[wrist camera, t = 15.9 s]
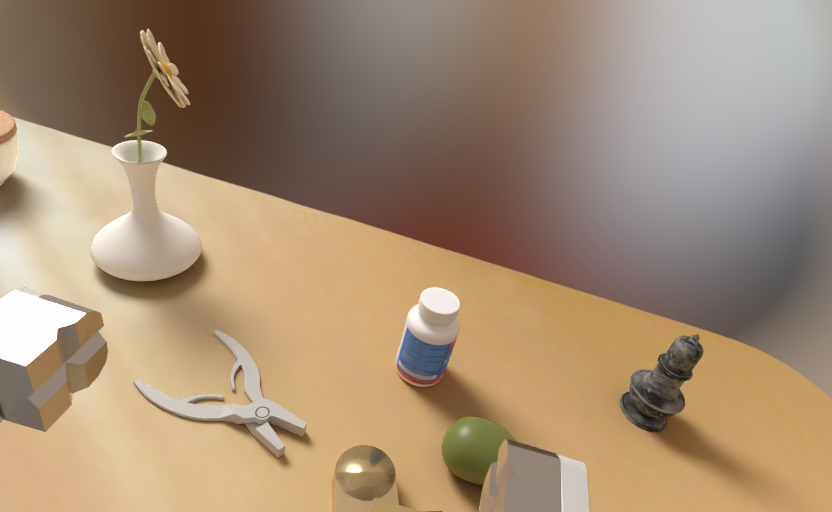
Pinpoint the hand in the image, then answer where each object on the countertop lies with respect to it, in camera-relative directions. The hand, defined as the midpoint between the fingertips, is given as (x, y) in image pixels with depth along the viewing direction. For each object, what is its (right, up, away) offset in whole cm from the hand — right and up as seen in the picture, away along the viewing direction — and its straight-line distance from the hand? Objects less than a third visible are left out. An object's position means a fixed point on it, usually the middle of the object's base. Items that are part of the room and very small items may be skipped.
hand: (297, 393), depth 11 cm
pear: (+9, -17, +39) cm, 44 cm away
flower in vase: (-29, +3, +53) cm, 60 cm away
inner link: (-2, -18, +34) cm, 38 cm away
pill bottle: (+3, -10, +48) cm, 49 cm away
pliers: (-15, -11, +40) cm, 44 cm away
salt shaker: (+27, -15, +50) cm, 59 cm away
